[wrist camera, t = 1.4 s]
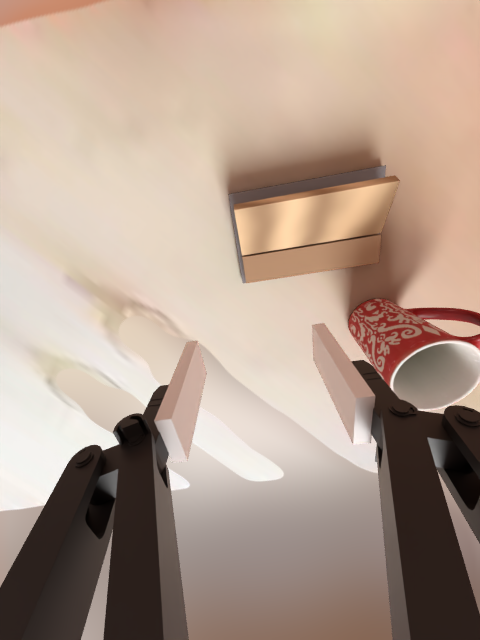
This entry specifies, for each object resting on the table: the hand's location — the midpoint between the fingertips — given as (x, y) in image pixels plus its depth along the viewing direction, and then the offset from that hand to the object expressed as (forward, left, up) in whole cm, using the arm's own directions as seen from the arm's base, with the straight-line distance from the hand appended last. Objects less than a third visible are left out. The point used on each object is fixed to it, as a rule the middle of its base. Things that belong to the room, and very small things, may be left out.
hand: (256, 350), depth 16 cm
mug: (+19, -9, -19) cm, 29 cm away
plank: (+8, +7, -17) cm, 20 cm away
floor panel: (+8, +5, -19) cm, 21 cm away
